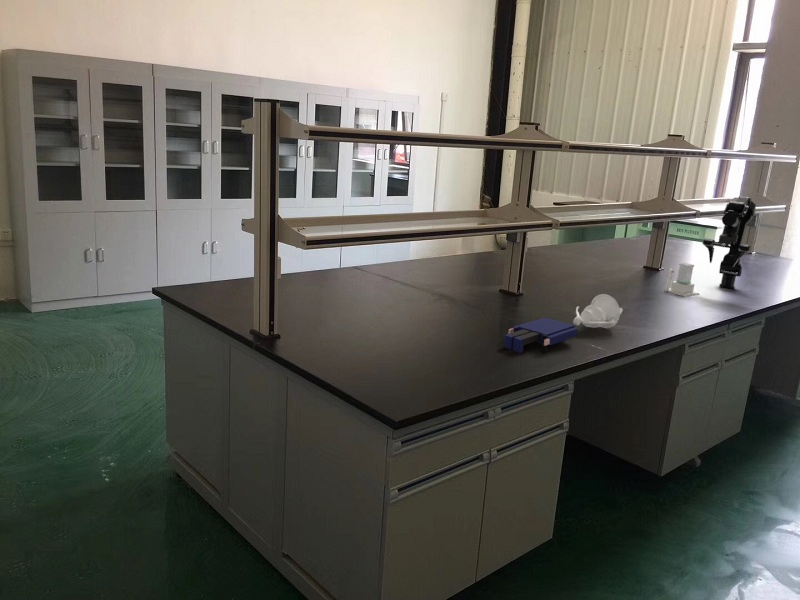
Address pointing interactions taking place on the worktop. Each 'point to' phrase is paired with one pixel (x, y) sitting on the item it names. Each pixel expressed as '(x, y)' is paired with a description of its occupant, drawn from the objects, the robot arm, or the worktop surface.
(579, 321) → the figurine
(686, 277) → the column
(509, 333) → the blue flat boxy piece
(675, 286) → the stand
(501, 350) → the worktop surface
